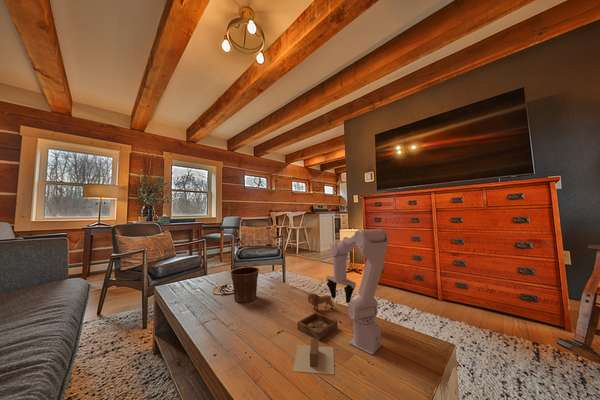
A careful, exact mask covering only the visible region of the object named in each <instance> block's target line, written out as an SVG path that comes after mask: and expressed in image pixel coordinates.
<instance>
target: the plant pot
mask: <svg viewBox="0 0 600 400" xmlns="http://www.w3.org/2000/svg"><path fill="white" fill-rule="evenodd" d="M259 272H260V269H259V268H258V267H254V266H245V267H238V268H235V269H232V270H231V271H230V276H231V281H232V289H233V298H234V301H235V302H236V303H239V304H245V303H250V302H253V301H254V300H255V299H256V298H257V291H258V290H257V288H258V277H259Z"/></svg>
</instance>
